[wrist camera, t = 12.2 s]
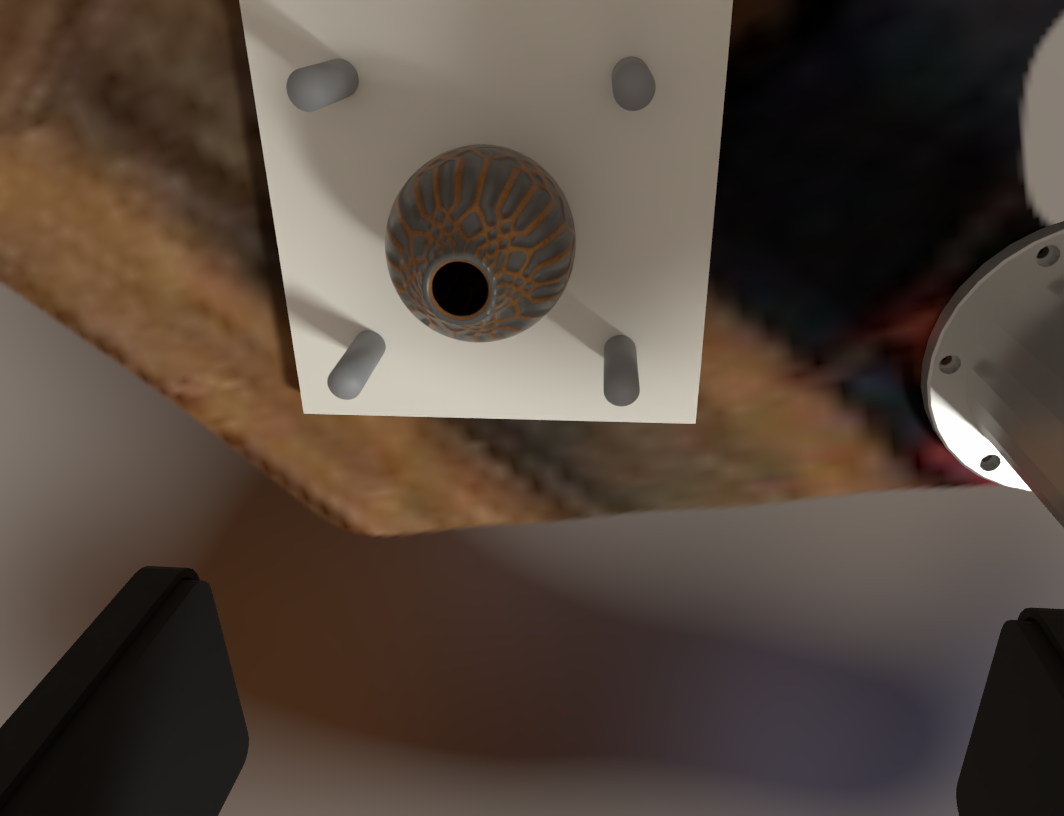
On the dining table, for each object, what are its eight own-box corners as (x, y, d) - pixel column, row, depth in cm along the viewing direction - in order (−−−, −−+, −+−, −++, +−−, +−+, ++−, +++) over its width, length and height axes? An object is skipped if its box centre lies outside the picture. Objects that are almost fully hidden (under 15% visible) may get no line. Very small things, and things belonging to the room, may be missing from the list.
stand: (729, -31, 30) (754, -35, 25) (692, 408, 38) (705, 470, 33) (250, -24, 31) (185, -26, 26) (313, 399, 39) (272, 457, 35)
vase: (602, 269, 34) (601, 352, 26) (450, 321, 35) (407, 415, 28) (542, 103, 31) (521, 142, 23) (381, 168, 33) (311, 225, 25)
